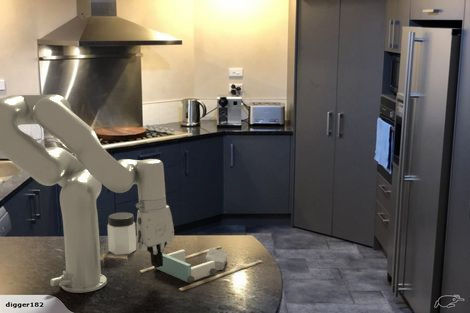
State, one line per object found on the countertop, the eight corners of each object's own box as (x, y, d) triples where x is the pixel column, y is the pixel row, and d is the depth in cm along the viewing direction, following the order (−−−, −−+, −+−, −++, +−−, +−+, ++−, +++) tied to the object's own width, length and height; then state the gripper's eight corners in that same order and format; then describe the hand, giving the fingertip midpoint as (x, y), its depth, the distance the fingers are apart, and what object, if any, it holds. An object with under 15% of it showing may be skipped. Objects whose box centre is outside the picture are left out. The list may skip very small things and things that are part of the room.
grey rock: (219, 281, 189) (223, 266, 187) (199, 275, 190) (203, 260, 187) (226, 260, 198) (230, 246, 195) (207, 255, 198) (210, 241, 196)
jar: (140, 251, 206) (139, 216, 203) (118, 256, 201) (116, 221, 198) (126, 244, 212) (125, 210, 210) (105, 249, 207) (103, 215, 205)
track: (181, 290, 173) (181, 289, 173) (139, 271, 188) (139, 270, 187) (262, 262, 195) (262, 261, 195) (218, 247, 209) (218, 245, 209)
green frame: (189, 284, 177) (188, 266, 176) (153, 268, 189) (153, 252, 188) (216, 274, 184) (216, 257, 183) (181, 260, 196) (180, 244, 195)
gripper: (138, 211, 167) (143, 276, 170) (181, 200, 177) (186, 261, 180) (122, 207, 172) (128, 270, 176) (165, 196, 182) (170, 255, 186)
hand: (157, 265), depth 178 cm, fingers closed
